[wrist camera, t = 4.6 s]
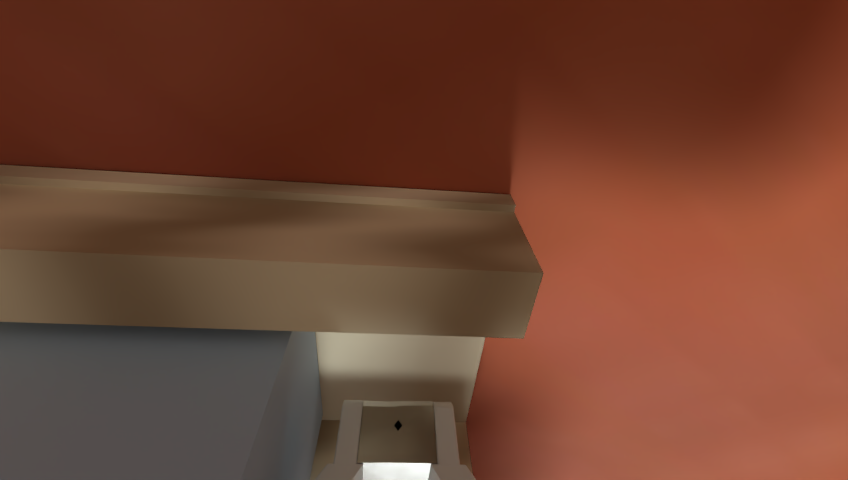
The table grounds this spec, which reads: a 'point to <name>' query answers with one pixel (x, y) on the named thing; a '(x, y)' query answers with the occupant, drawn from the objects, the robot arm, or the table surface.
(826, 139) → the table surface
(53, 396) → the slate block
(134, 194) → the chute
